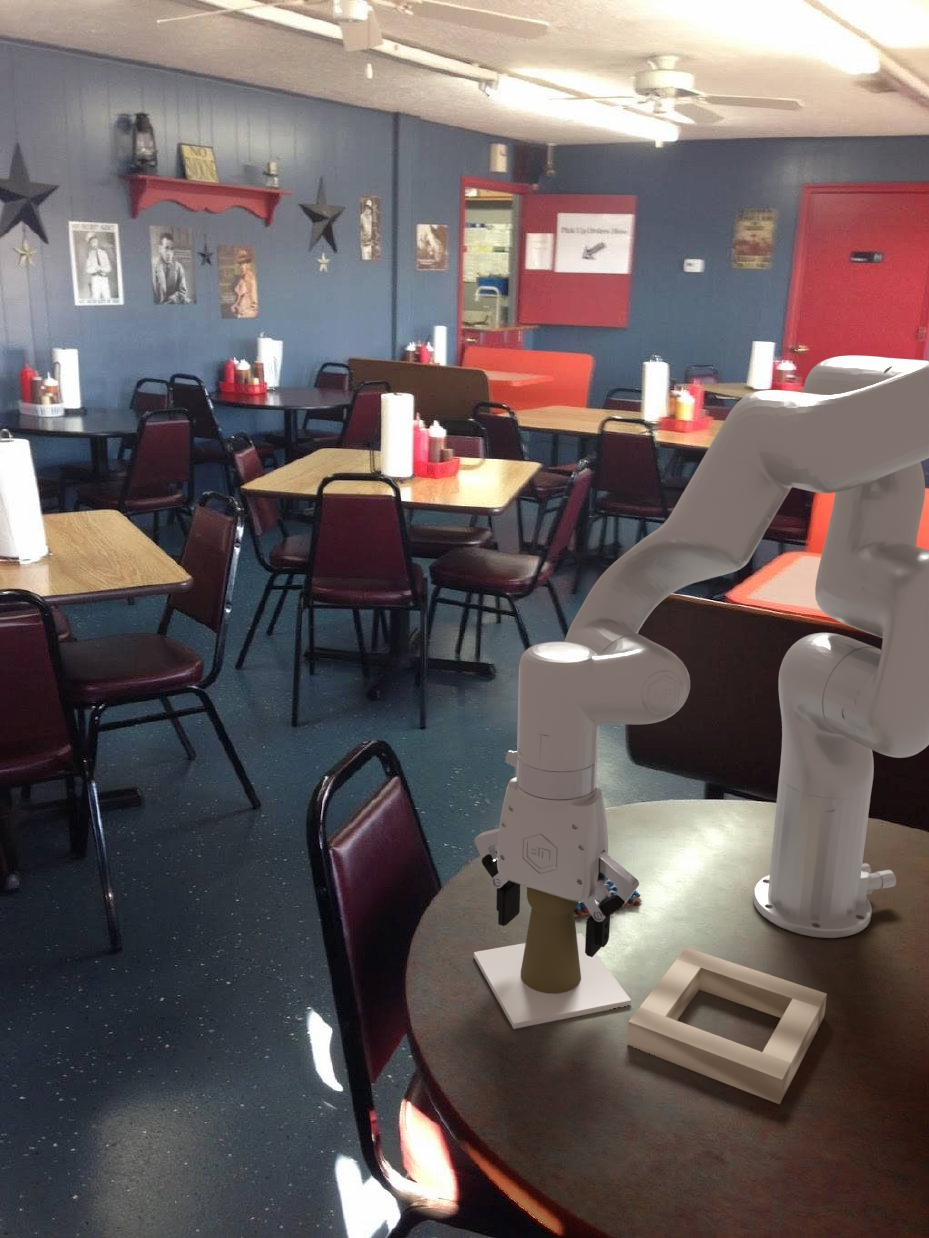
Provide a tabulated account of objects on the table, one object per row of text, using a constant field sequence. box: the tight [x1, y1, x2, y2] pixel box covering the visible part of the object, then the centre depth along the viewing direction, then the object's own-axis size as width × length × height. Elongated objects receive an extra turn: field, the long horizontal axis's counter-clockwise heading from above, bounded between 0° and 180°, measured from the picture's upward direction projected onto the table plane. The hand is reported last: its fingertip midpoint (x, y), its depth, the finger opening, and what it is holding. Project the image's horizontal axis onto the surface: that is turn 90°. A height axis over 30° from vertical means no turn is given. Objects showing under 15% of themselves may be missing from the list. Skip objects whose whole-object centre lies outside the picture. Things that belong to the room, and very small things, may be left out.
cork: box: [521, 887, 581, 994], centre depth 106 cm, size 6×6×11 cm
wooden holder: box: [626, 947, 828, 1105], centre depth 100 cm, size 14×14×2 cm
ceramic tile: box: [473, 932, 632, 1030], centre depth 108 cm, size 12×12×1 cm
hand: (551, 933), depth 106 cm, fingers open, 9 cm apart
